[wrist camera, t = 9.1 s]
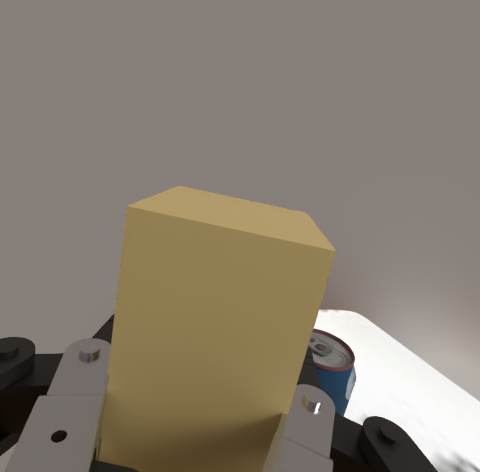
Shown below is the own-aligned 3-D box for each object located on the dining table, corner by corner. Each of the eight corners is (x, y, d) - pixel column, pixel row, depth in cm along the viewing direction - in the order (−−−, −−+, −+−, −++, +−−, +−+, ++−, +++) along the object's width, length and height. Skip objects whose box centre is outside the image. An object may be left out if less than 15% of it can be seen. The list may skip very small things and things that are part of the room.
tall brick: (237, 476, 14) (306, 213, 11) (226, 619, 10) (336, 251, 7) (137, 454, 14) (179, 185, 11) (82, 587, 10) (127, 206, 7)
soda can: (338, 459, 32) (375, 356, 29) (296, 504, 27) (336, 385, 24) (283, 411, 36) (311, 317, 33) (240, 442, 31) (267, 335, 28)
